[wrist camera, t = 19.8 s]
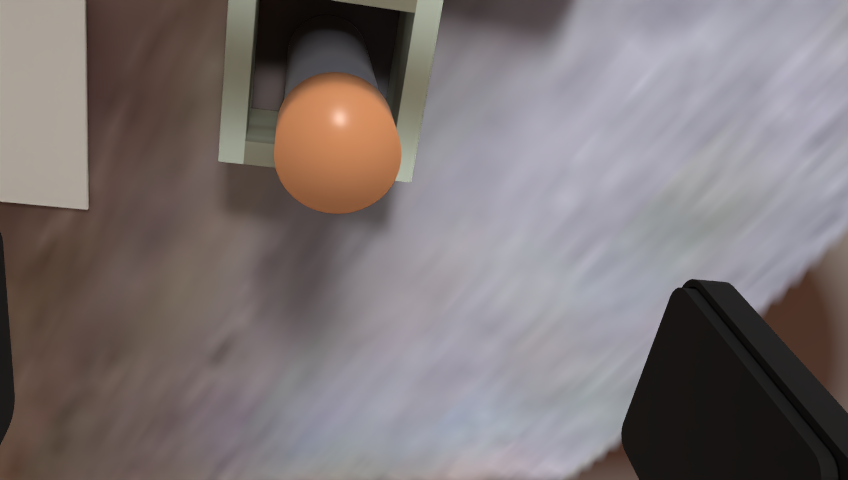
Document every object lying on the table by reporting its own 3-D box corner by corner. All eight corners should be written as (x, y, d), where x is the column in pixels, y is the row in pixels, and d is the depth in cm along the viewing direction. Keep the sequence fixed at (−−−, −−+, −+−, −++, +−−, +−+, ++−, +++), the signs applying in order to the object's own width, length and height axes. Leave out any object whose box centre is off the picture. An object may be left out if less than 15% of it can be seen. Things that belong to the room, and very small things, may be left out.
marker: (287, 4, 27) (280, 86, 18) (377, 17, 28) (410, 103, 19) (279, 91, 29) (268, 207, 20) (364, 102, 29) (391, 219, 20)
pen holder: (239, -58, 26) (231, -44, 23) (429, -28, 27) (444, -10, 24) (227, 126, 29) (218, 161, 26) (400, 146, 30) (411, 182, 27)
